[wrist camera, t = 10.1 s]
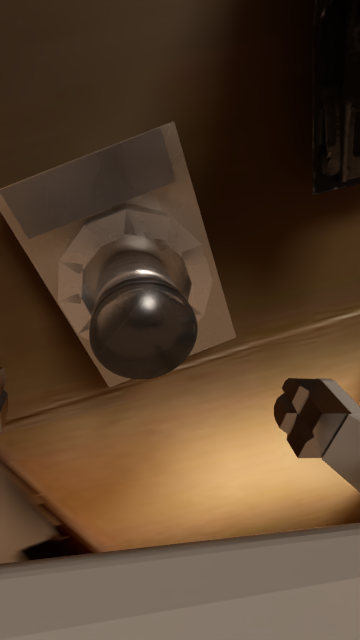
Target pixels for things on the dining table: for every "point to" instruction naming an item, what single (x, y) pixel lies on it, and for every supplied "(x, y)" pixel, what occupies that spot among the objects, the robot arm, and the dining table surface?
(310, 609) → the robot arm
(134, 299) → the knob
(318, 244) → the dining table surface
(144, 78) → the dining table surface
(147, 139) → the mount
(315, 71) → the vintage camera
